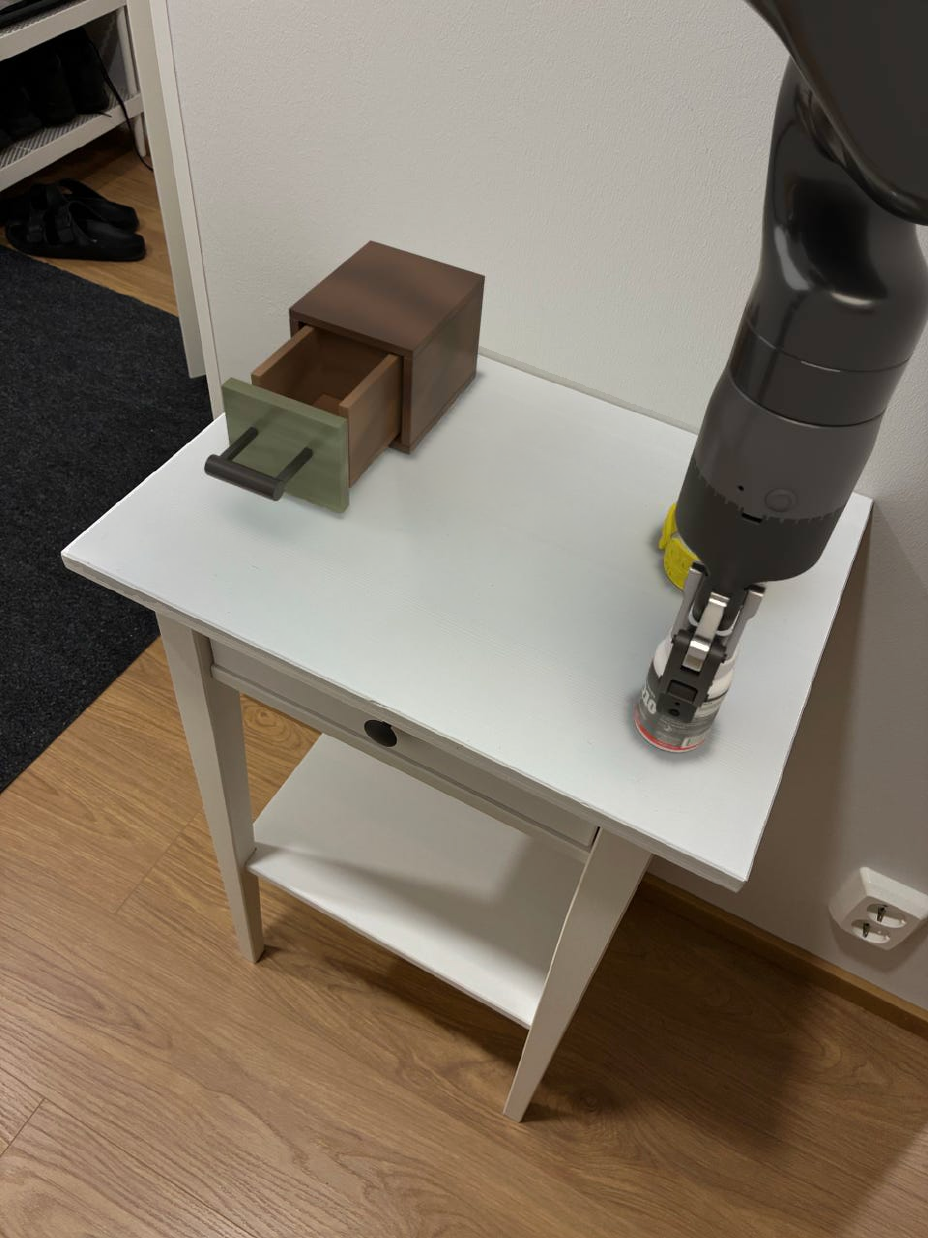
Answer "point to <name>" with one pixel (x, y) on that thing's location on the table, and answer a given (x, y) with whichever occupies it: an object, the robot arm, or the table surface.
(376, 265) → the cabinet
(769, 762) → the table surface
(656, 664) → the pill bottle
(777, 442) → the robot arm
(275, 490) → the drawer
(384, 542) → the table surface
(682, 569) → the bracelet
